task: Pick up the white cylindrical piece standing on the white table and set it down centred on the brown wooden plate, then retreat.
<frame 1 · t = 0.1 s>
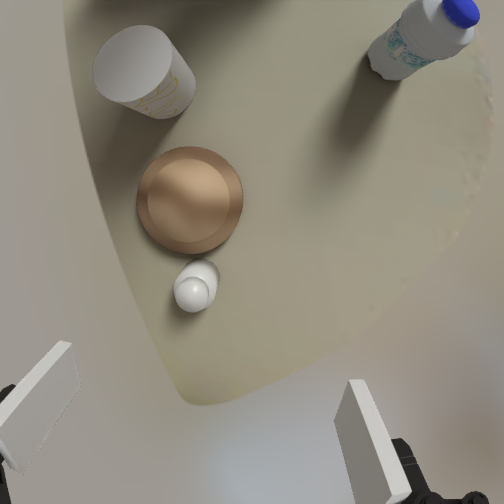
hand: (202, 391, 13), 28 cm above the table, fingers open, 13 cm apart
brown wooden plate: (191, 199, 39), on the table
white knobbed rounded part: (200, 276, 41), on the table
white cylindrical piece: (165, 89, 35), on the table
bottle: (385, 62, 34), on the table
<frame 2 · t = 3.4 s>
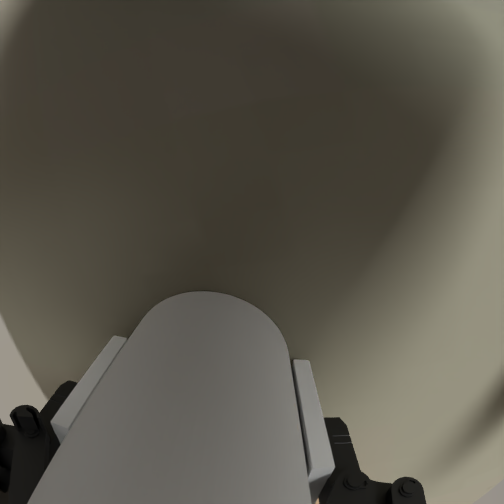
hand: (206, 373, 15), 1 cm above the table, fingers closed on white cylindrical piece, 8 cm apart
white cylindrical piece: (209, 362, 16), on the table, touching gripper
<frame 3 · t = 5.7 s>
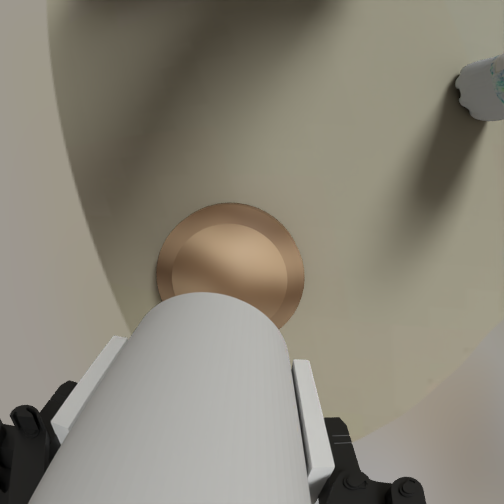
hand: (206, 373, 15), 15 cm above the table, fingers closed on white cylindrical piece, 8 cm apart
brown wooden plate: (230, 273, 29), on the table
white cylindrical piece: (209, 362, 15), point 14 cm above the table, touching gripper
bottle: (471, 94, 24), on the table
when the fingers open (4 cm above the table, at t = 8.1 s): white cylindrical piece drops 1 cm, resting on brown wooden plate.
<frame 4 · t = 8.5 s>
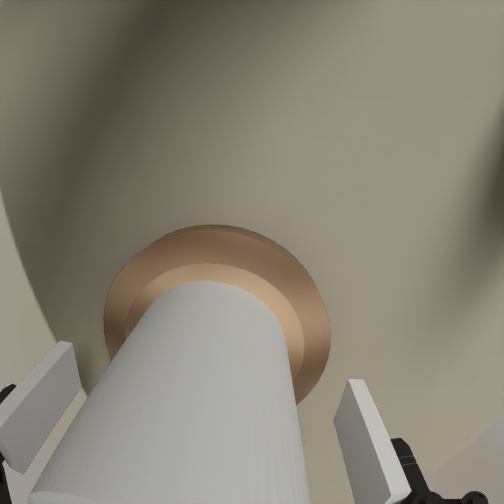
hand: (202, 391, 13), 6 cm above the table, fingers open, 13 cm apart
brown wooden plate: (216, 331, 19), on the table
white cylindrical piece: (211, 349, 17), point 2 cm above the table, touching brown wooden plate
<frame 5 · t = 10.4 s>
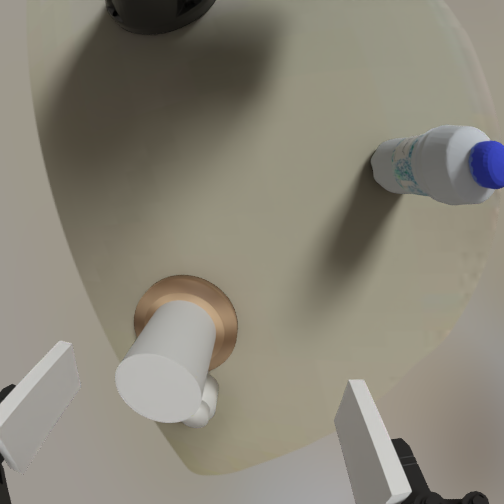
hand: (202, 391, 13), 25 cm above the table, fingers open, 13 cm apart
brown wooden plate: (186, 323, 39), on the table
white knobbed rounded part: (201, 386, 42), on the table
white cylindrical piece: (183, 330, 37), point 2 cm above the table, touching brown wooden plate
bottle: (389, 166, 35), on the table
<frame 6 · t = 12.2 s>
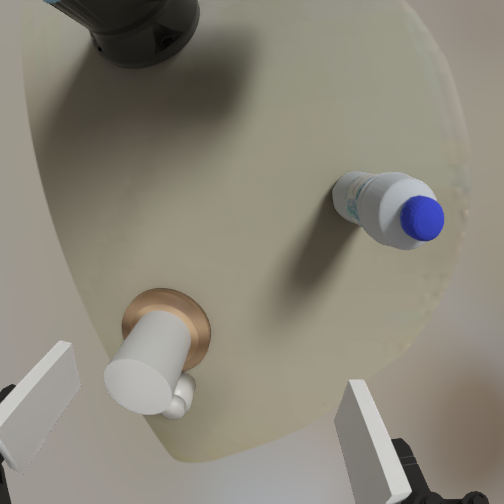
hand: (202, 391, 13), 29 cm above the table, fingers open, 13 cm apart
brown wooden plate: (167, 329, 44), on the table
white knobbed rounded part: (180, 382, 47), on the table
white cylindrical piece: (163, 335, 42), point 2 cm above the table, touching brown wooden plate
bottle: (351, 195, 39), on the table
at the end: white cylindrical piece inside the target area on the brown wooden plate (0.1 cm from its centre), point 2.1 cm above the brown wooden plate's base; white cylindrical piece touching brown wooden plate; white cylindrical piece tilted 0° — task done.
